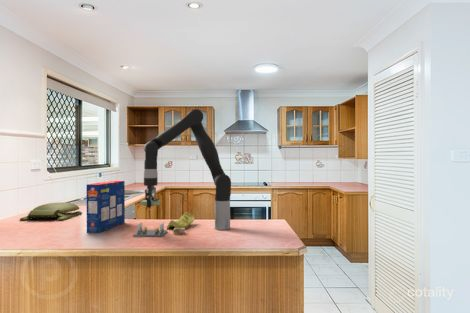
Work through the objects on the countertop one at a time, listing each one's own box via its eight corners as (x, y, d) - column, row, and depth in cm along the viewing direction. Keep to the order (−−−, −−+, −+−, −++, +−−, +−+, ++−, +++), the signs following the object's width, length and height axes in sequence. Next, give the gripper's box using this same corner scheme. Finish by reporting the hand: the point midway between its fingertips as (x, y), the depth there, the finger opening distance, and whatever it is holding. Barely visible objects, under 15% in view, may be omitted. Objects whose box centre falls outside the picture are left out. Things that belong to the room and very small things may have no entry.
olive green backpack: (62, 221, 221) (62, 207, 221) (17, 221, 221) (17, 207, 221) (86, 212, 256) (86, 200, 256) (47, 212, 256) (47, 200, 256)
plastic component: (183, 226, 193) (169, 218, 195) (179, 237, 194) (165, 229, 197) (197, 218, 212) (184, 210, 214) (192, 227, 213) (180, 220, 216)
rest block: (185, 233, 187) (185, 227, 187) (183, 234, 183) (183, 229, 183) (174, 233, 187) (174, 227, 187) (173, 234, 184) (173, 229, 184)
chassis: (167, 231, 190) (167, 221, 190) (162, 236, 178) (162, 225, 178) (139, 231, 191) (139, 221, 191) (133, 236, 179) (133, 225, 179)
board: (160, 203, 187) (160, 198, 187) (158, 205, 181) (158, 200, 181) (143, 203, 187) (143, 198, 187) (140, 205, 181) (140, 200, 181)
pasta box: (113, 222, 216) (113, 180, 216) (124, 223, 215) (124, 180, 215) (86, 232, 189) (86, 184, 189) (99, 233, 187) (98, 184, 187)
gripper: (154, 177, 177) (153, 208, 177) (160, 176, 191) (160, 204, 191) (140, 177, 177) (140, 208, 177) (147, 176, 192) (147, 204, 192)
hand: (150, 206), depth 184 cm, fingers closed on board, 6 cm apart
